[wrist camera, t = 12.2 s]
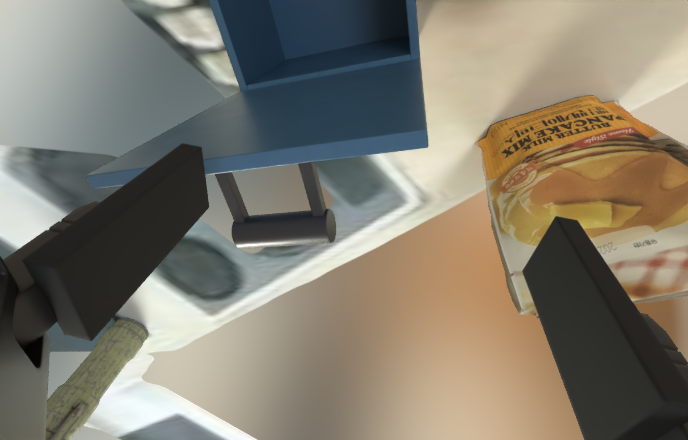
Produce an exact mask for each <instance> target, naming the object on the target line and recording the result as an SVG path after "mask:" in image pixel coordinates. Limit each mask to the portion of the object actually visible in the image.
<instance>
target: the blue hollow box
mask: <svg viewBox="0 0 688 440" xmlns="http://www.w3.org/2000/svg"><path fill="white" fill-rule="evenodd" d="M209 2H210V5H211V8H212V11H213V13H214V16H215V19H216V22H217V25H218V28H219V30H220V33H221V36H222V39H223V42H224V45H225V47H226V50H227V53H228V56H229V59H230V62H231V64H232V67H233V70H234V73H235V76H236V79H237V82H238V84H239V87H240V90H241V91H246V90H252V89H257V88H262V87H268V86H273V85H279V84H284V83H289V82H295V81H300V80H305V79H311V78H316V77H322V76H327V75H332V74H338V73H343V72H349V71H354V70H359V69H365V68H370V67H375V66H381V65H386V64H392V63H397V62H402V61H408V60H413V59H418V58H420V49H419V36H418V23H417V9H416V0H209Z"/></svg>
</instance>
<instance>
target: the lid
mask: <svg viewBox="0 0 688 440" xmlns="http://www.w3.org/2000/svg"><path fill="white" fill-rule="evenodd" d="M182 143H184V144H189V145H194V146H200V147H202V153H203V161H204V169H205V175H209V174H215V176H216V178H217V181H218V183H219V185H220V188H221V190H222V192H223V195H224V197H225V200H226V202H227V204H228V207H229V209H230V212H231V214H232V216H233V219H234V222H233V225H232V238H233V241H234V243H235V245H236V246H237V247H238V248H256V247H257V248H258V247H274V246H290V245H306V244H322V243H332V242H334V240H335V236H336V223H335V217H334V214H333V212H332V210H331V209H326V206H325V202H324V198H323V194H322V190H321V186H320V182H319V178H318V174H317V171H316V167H315V163H314V162H315V161H323V160H331V159H339V158H347V157H355V156H363V155H371V154H380V153H388V152H396V151H404V150H412V149H420V148H427V147H428V134H427V123H426V112H425V102H424V92H423V82H422V71H421V61H420V58H418V59H413V60H408V61H402V62H397V63H392V64H386V65H381V66H375V67H370V68H365V69H359V70H354V71H349V72H343V73H338V74H332V75H327V76H322V77H316V78H311V79H305V80H300V81H295V82H289V83H284V84H279V85H273V86H268V87H262V88H257V89H252V90H246V91H241V92H238V93H236V94H234V95H232V96H230V97H229V98H227V99H225V100H223V101H221V102H219V103H218V104H216V105H214V106H212V107H210V108H209V109H207V110H205V111H203V112H201V113H199V114H197V115H196V116H194V117H192V118H190V119H188V120H186V121H185V122H183V123H181V124H179V125H177V126H175V127H174V128H172V129H170V130H168V131H166V132H164V133H162V134H161V135H159V136H157V137H155V138H153V139H152V140H150V141H148V142H146V143H144V144H142V145H140V146H139V147H137V148H135V149H133V150H131V151H129V152H128V153H126V154H124V155H122V156H120V157H118V158H116V159H115V160H113V161H111V162H109V163H107V164H105V165H104V166H102V167H100V168H98V169H96V170H94V171H93V172H91V173H89V174H87V175H85V178H86V179H87V181H88V182H89V184H90V186H91V187H92V188H93V189H96V188H104V187H112V186H120V185H126V184H127V183H128V182H130V181H131V180H132V179H134V178H135V177H137V176H138V175H139V174H141V173H142V172H143V171H145V170H146V169H147V168H149V167H150V166H152V165H153V164H154V163H156V162H157V161H158V160H160V159H161V158H163V157H164V156H165V155H167V154H168V153H169V152H171V151H172V150H174V149H175V148H176V147H178V146H179V145H180V144H182ZM289 164H299V168H300V171H301V174H302V178H303V182H304V186H305V189H306V193H307V196H308V200H309V204H310V207H311V211H299V212H288V213H276V214H266V215H254V216H249V215H248V212H247V210H246V207H245V205H244V202H243V200H242V197H241V194H240V192H239V190H238V187H237V184H236V182H235V179H234V177H233V174H232V172H234V171H242V170H250V169H257V168H266V167H274V166H282V165H289Z"/></svg>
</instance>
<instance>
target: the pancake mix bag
mask: <svg viewBox="0 0 688 440" xmlns="http://www.w3.org/2000/svg"><path fill="white" fill-rule="evenodd" d="M476 144H477V145H478V147H480V148H481V149H482V161H483V170H484V175H485V180H486V189H487V196H488V206H489V210H490V213H491V222H492V229H493V233H494V236H495V240H496V243H497V246H498V250H499V254H500V257H501V261H502V264H503V267H504V270H505V276H506V282H507V287H508V290H509V293H510V295H511V298H512V301H513V303H514V304H515V307H516V309H517V310H518V312H519V314H525V315H536V317H537V318H539V316H538V313H537V310H536V307H535V305H534V302H533V299H532V297H531V294H530V291H529V289H528V286H527V283H526V280H525V278H524V275H523V272H522V270H523V269H524V267H525V266H526V264H527V262H528V261H529V259H530V257H531V256H532V254H533V252H534V251H535V249H536V247H537V246H538V244H539V242H540V241H541V239H542V238H543V236H544V234H545V233H546V231H547V229H548V228H549V226H550V224H551V223H552V221H553V219H554V218H555V216H558V217H563V218H568V219H574V220H578V222H579V223H580V225H581V226H582V228H583V229H584V231H585V232H586V234H587V235H588V237H589V238H590V240H591V241H592V242H593V244H594V245H595V247H596V248H597V250H598V251H599V253H600V254H601V256H602V257H603V259H604V260H605V262H606V263H607V265H608V266H609V268H610V269H611V271H612V272H613V274H614V275H615V277H616V278H617V280H618V281H619V283H620V284H621V286H622V287H623V289H624V290H625V291H626V293H627V294H628V296H629V297H630V299H631V300H632V302H633V303H634V304H639V303H646V302H654V301H661V300H668V299H675V298H681V297H687V296H688V146H687V145H685V144H682V143H680V142H678V141H676V140H675V139H673V138H671V137H669V136H667V135H665V134H663V133H661V132H659V131H658V130H656V129H655V128H653V127H651V126H649V125H647V124H645V123H642V122H640V121H639V120H637V119H636V118H634V117H633V116H632V115H631V114H630V113H629V112H628V111H626V110H625V109H624V108H622V107H621V106H620V104H619V102H618V101H611V102H605V103H601V101H600V100H599V99H598V98H596V97H595V96H593V95H592V96H584V97H577V98H574V99H571V100H568V101H565V102H561V103H558V104H555V105H552V106H548V107H545V108H542V109H539V110H536V111H533V112H530V113H527V114H523V115H520V116H516V117H513V118H509V119H506V120H503V121H500V122H498V123H495V124H493V125H491V126H490V128H489V130H488V133H487V136H486V137H485V138H483V139H481V140H479V141H478V142H476Z"/></svg>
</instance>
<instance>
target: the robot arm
mask: <svg viewBox="0 0 688 440" xmlns="http://www.w3.org/2000/svg"><path fill="white" fill-rule="evenodd" d="M208 208H209V202H208V194H207V187H206V178H205V169H204V161H203V153H202V147H200V146H194V145H189V144H184V143H182V144H180V145H179V146H178V147H176V148H175V149H174V150H172V151H171V152H169V153H168V154H167V155H165V156H164V157H163V158H161V159H160V160H158V161H157V162H156V163H154V164H153V165H152V166H150V167H149V168H147V169H146V170H145V171H143V172H142V173H141V174H139V175H138V176H137V177H135V178H134V179H132V180H131V181H130V182H128V183H127V184H126V185H124V186H123V187H121V188H120V189H119V190H117V191H116V192H115V193H113V194H112V195H110V196H109V197H108V198H106V199H105V200H104V201H102V202H97V201H95V202H93V203H90V204H88V205H85V206H83V207H80V208H78V209H76V210H74V211H73V212H72V213H70V214H69V215H67V216H66V217H64V218H63V219H62V221H61V222H57V223H56V224H54V225H53V226H51V227H50V228H49V230H46V231H44V232H43V233H41V234H40V235H39V236H37V237H36V238H34V239H33V240H31V241H30V242H28V243H27V244H26V245H24V246H23V247H21V248H20V249H18V250H17V251H16V252H14V253H13V254H11V255H10V256H8V257H7V258H5V259H4V260H2V258H1V256H0V440H45V432H46V413H47V393H48V373H49V354H50V338H49V334H48V332H47V330H48V329H49V328H50V327H51V326H52V325H54V324H55V323H56V322H58V324H59V325H60V327H61V329H62V331H63V332H64V334H65V335H68V336H72V337H76V338H81V339H85V340H89V341H92V340H93V339H94V338H95V337H96V336H97V334H98V333H99V332H100V331H101V330H102V329H103V328H104V326H105V325H106V324H107V323H108V322H109V321H110V320H111V318H112V317H113V316H114V315H115V314H116V313H117V312H118V311H119V309H120V308H121V307H122V306H123V305H124V304H125V303H126V301H127V300H128V299H129V298H130V297H131V296H132V295H133V293H134V292H135V291H136V290H137V289H138V288H139V287H140V285H141V284H142V283H143V282H144V281H145V280H146V279H147V277H148V276H149V275H150V274H151V273H152V272H153V271H154V269H155V268H156V267H157V266H158V265H159V264H160V263H161V261H162V260H163V259H164V258H165V257H166V256H167V255H168V253H169V252H170V251H171V250H172V249H173V248H174V247H175V246H176V244H177V243H178V242H179V241H180V240H181V239H182V238H183V236H184V235H185V234H186V233H187V232H188V231H189V230H190V228H191V227H192V226H193V225H194V224H195V223H196V222H197V220H198V219H199V218H200V217H201V216H202V215H203V214H204V212H205V211H206V210H207V209H208ZM522 272H523V275H524V278H525V280H526V283H527V286H528V289H529V291H530V294H531V297H532V299H533V302H534V305H535V307H536V310H537V313H538V316H539V318H540V321H541V324H542V326H543V329H544V332H545V334H546V337H547V340H548V342H549V345H550V348H551V350H552V353H553V356H554V359H555V361H556V364H557V367H558V369H559V372H560V375H561V378H562V380H563V383H564V386H565V388H566V391H567V394H568V397H569V399H570V402H571V404H572V407H573V410H574V413H575V415H576V418H577V421H578V424H579V426H580V429H581V432H582V434H583V437H584V440H688V362H687V361H686V359H685V358H684V357H683V355H682V354H681V352H678V351H677V349H678V348H677V347H676V345H675V344H674V343H673V341H672V340H671V338H670V337H669V335H668V334H667V333H666V331H664V330H663V329H662V328H661V327H660V326H659V325H658V324H657V323H656V322H655V321H654V320H653V319H652V318H650V317H649V316H648V315H647V314H642V313H640V312H639V311H638V309H637V308H636V306H635V305H634V303H633V302H632V300H631V299H630V297H629V296H628V294H627V293H626V291H625V290H624V289H623V287H622V286H621V284H620V283H619V281H618V280H617V278H616V277H615V275H614V274H613V272H612V271H611V269H610V268H609V266H608V265H607V263H606V262H605V260H604V259H603V257H602V256H601V254H600V253H599V251H598V250H597V248H596V247H595V245H594V244H593V242H592V241H591V240H590V238H589V237H588V235H587V234H586V232H585V231H584V229H583V228H582V226H581V225H580V223H579V222H578V220H574V219H568V218H563V217H558V216H555V218H554V219H553V221H552V223H551V224H550V226H549V228H548V229H547V231H546V233H545V234H544V236H543V238H542V239H541V241H540V242H539V244H538V246H537V247H536V249H535V251H534V252H533V254H532V256H531V257H530V259H529V261H528V262H527V264H526V266H525V267H524V269H523V270H522Z"/></svg>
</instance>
